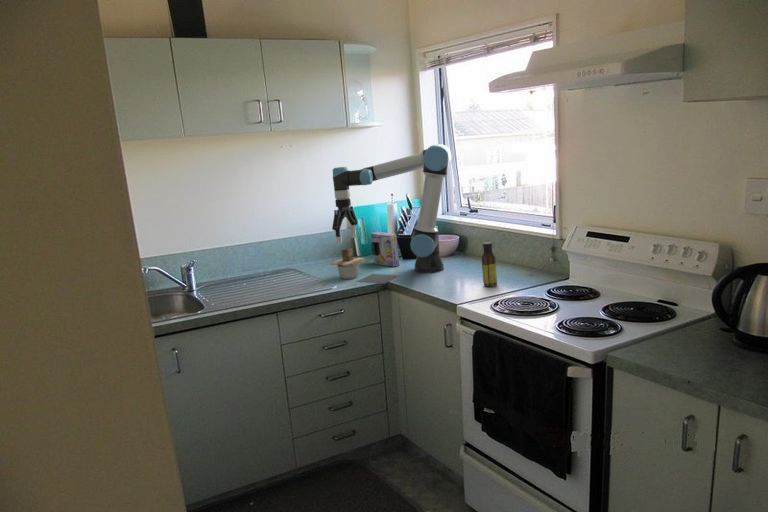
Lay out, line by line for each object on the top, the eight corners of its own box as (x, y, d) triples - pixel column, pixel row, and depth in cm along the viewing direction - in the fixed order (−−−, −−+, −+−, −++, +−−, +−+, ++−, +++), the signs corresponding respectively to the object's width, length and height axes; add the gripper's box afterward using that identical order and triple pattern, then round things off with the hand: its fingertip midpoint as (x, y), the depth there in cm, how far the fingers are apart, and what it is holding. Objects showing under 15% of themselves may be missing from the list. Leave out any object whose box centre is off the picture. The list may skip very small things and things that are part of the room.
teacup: (359, 280, 288) (357, 264, 286) (337, 281, 288) (336, 266, 287) (360, 273, 302) (359, 258, 300) (340, 274, 302) (338, 260, 300)
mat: (399, 276, 290) (399, 275, 290) (384, 284, 276) (384, 283, 276) (372, 274, 298) (372, 273, 297) (356, 282, 284) (356, 281, 284)
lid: (365, 260, 296) (364, 246, 294) (352, 265, 285) (351, 252, 283) (344, 259, 302) (342, 246, 300) (330, 264, 291) (329, 251, 289)
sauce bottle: (498, 283, 263) (496, 241, 259) (496, 287, 257) (494, 244, 253) (483, 283, 265) (482, 241, 261) (481, 287, 259) (479, 244, 255)
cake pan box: (371, 262, 324) (369, 232, 321) (379, 261, 327) (376, 230, 324) (392, 267, 309) (390, 235, 305) (400, 266, 312) (397, 233, 308)
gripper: (349, 195, 299) (353, 235, 303) (322, 202, 278) (326, 245, 282) (361, 195, 295) (365, 235, 300) (335, 201, 274) (339, 245, 278)
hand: (346, 240), depth 291 cm, fingers open, 13 cm apart
